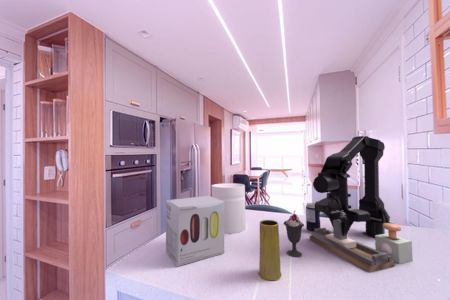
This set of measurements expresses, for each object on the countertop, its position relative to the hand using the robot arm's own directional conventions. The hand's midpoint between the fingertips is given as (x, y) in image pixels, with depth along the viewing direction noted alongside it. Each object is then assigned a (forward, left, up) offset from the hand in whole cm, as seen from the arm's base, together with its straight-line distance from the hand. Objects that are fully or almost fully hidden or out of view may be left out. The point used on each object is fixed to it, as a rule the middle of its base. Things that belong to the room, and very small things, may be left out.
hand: (340, 234), depth 71 cm
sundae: (+18, -2, -5) cm, 19 cm away
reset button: (-11, +10, +1) cm, 15 cm away
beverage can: (-3, -17, -5) cm, 18 cm away
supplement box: (+50, -14, -5) cm, 52 cm away
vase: (+32, +6, -5) cm, 33 cm away
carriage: (0, 0, -3) cm, 3 cm away
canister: (+31, -34, -5) cm, 46 cm away
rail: (0, +2, -5) cm, 5 cm away
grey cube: (-11, +10, -5) cm, 16 cm away
